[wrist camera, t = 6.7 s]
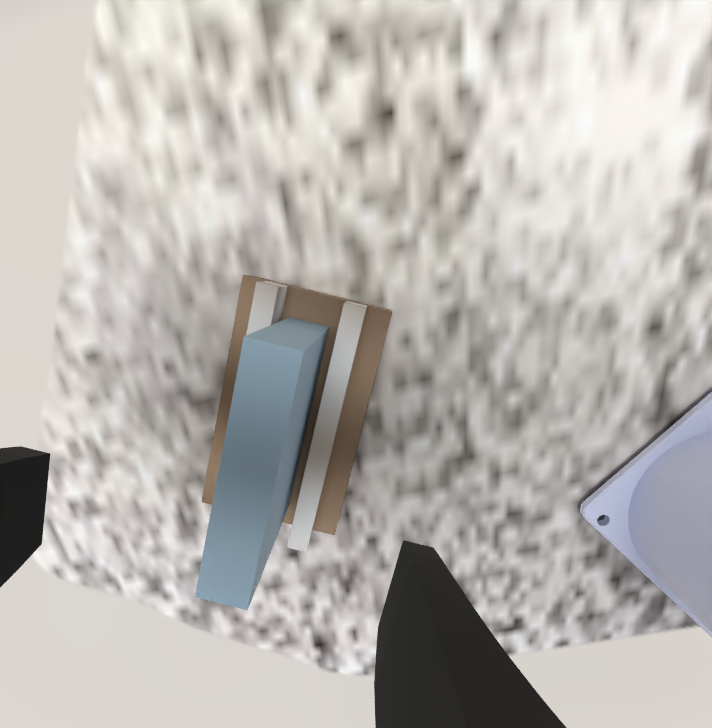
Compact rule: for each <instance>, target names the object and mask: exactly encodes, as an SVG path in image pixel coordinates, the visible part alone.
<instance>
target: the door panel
mask: <svg viewBox="0 0 712 728" xmlns="http://www.w3.org/2000/svg"><path fill="white" fill-rule="evenodd" d="M329 328H330V326H326V325H322V324H318V323H314V322H310V321H306V320H302V319H297V318H293V317H289V318H287V319H284V320H282V321H280V322H277V323H275V324H272V325H270V326H268V327H265V328H263V329H260V330H258V331H256V332H253V333H251V334H248V335H246V336H244V338H243V344H242V349H241V354H240V360H239V365H238V370H237V376H236V381H235V386H234V392H233V397H232V402H231V408H230V413H229V418H228V424H227V429H226V434H225V440H224V445H223V450H222V456H221V461H220V466H219V472H218V477H217V482H216V488H215V493H214V498H213V504H212V509H211V514H210V520H209V525H208V530H207V536H206V541H205V546H204V552H203V557H202V562H201V568H200V573H199V578H198V584H197V589H196V594H195V597H197V598H201V599H205V600H209V601H213V602H217V603H221V604H225V605H229V606H233V607H237V608H241V609H245V610H248V607H249V605H250V602H251V600H252V597H253V595H254V592H255V590H256V587H257V585H258V582H259V580H260V577H261V575H262V572H263V570H264V567H265V565H266V562H267V560H268V557H269V555H270V552H271V550H272V547H273V545H274V542H275V540H276V537H277V535H278V532H279V529H280V527H281V524H282V522H283V519H284V517H285V514H286V512H287V509H288V507H289V504H290V499H291V495H292V491H293V486H294V482H295V477H296V473H297V469H298V464H299V460H300V456H301V451H302V447H303V442H304V438H305V434H306V429H307V425H308V420H309V416H310V412H311V407H312V403H313V399H314V394H315V390H316V385H317V381H318V377H319V372H320V368H321V363H322V359H323V355H324V350H325V346H326V342H327V337H328V333H329Z"/></svg>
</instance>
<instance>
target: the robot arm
mask: <svg viewBox="0 0 712 728" xmlns="http://www.w3.org/2000/svg"><path fill="white" fill-rule="evenodd" d="M49 461H50V454H49V453H45V452H41V451H37V450H33V449H29V448H25V447H10V448H1V449H0V587H1V586H2V585H3V584H4V583H5V582H6V581H7V580H8V579H9V578H10V577H11V576H12V575H13V574H14V573H15V572H16V571H17V570H18V569H19V568H20V567H21V566H22V565H23V564H24V562H25V561H26V560H27V559H28V558H29V557H30V556H31V555H32V554H33V553H34V552H35V550H36V549H37V548H38V547H39V546H40V545H41V544H42V535H43V524H44V514H45V503H46V492H47V482H48V471H49ZM580 513H581V515H582V516H583V517H584V518H585V519H586V521H588V522H589V523H590V524H591V525H592V526H593V527H594V528H595V529H596V530H597V531H598V532H599V533H600V534H602V535H603V536H604V537H605V538H606V539H607V540H608V541H609V542H610V543H611V544H612V545H613V546H614V547H616V548H617V549H618V550H619V551H620V552H621V553H622V554H623V555H624V556H625V557H626V558H627V559H628V560H630V561H631V562H632V563H633V564H634V565H635V566H636V567H637V568H638V569H639V570H640V571H641V572H642V573H644V574H645V575H646V576H647V577H648V578H649V579H650V580H651V581H652V582H653V583H654V584H655V585H656V586H658V587H659V588H660V589H661V590H662V591H663V592H664V593H665V594H666V595H667V596H668V597H669V598H670V599H671V600H673V601H674V602H675V603H676V604H677V605H678V606H679V607H680V608H681V609H682V610H683V611H684V612H685V613H687V614H688V615H689V616H690V617H691V618H692V619H693V620H694V621H695V622H696V623H697V624H698V625H699V626H701V627H702V628H703V629H704V630H705V631H706V632H707V633H708V634H709V635H710V636H711V637H712V392H711V393H710V394H708V395H707V396H706V397H705V398H704V399H703V400H701V401H700V402H699V403H698V404H697V405H696V406H694V407H693V408H692V409H691V410H690V411H689V412H687V413H686V414H685V415H684V416H683V417H682V418H680V419H679V420H678V421H677V422H676V423H675V424H673V425H672V426H671V427H670V428H669V429H668V430H666V431H665V432H664V433H663V434H662V435H661V436H659V437H658V438H657V439H656V440H655V441H654V442H652V443H651V444H650V445H649V446H648V447H647V448H645V449H644V450H643V451H642V452H641V453H640V454H638V455H637V456H636V457H635V458H634V459H633V460H631V461H630V462H629V463H628V464H627V465H626V466H624V467H623V468H622V469H621V470H620V471H619V472H617V473H616V474H615V475H614V476H613V477H612V478H610V479H609V480H608V481H607V482H606V483H605V484H603V485H602V486H601V487H600V488H599V489H598V490H596V491H595V492H594V493H593V494H592V495H591V496H589V497H588V498H587V499H586V500H585V501H584V502H583V503H582V504H581V506H580ZM601 515H605V517H604V519H603V520H601V521H597V519H598V517H599V516H601ZM374 688H375V719H376V720H375V721H376V728H566V727H565V725H563V723H562V722H561V721H560V720H559V719H558V717H557V716H556V715H555V714H554V713H553V711H552V710H551V709H550V708H549V707H548V705H547V704H546V703H545V702H544V701H543V699H542V698H541V697H540V696H539V694H538V693H537V692H536V691H535V689H534V688H533V687H532V686H531V684H530V683H529V682H528V680H527V679H526V678H525V677H524V675H523V674H522V673H521V672H520V670H519V669H518V668H517V667H516V665H515V664H514V663H513V661H512V660H511V659H510V657H509V656H508V655H507V653H506V652H505V651H504V649H503V648H502V647H501V645H500V644H499V643H498V641H497V640H496V639H495V637H494V636H493V634H492V633H491V632H490V630H489V629H488V627H487V626H486V625H485V623H484V622H483V620H482V619H481V618H480V616H479V615H478V613H477V612H476V610H475V609H474V607H473V606H472V604H471V603H470V602H469V600H468V599H467V597H466V596H465V594H464V593H463V591H462V590H461V588H460V587H459V585H458V584H457V582H456V581H455V579H454V578H453V576H452V575H451V573H450V572H449V570H448V568H447V567H446V565H445V564H444V562H443V561H442V559H441V558H440V556H439V555H438V553H437V552H436V551H435V549H434V548H433V547H428V546H424V545H420V544H416V543H412V542H408V541H404V540H403V543H402V546H401V550H400V553H399V557H398V560H397V564H396V567H395V570H394V574H393V577H392V581H391V584H390V588H389V591H388V595H387V598H386V602H385V605H384V609H383V612H382V615H381V619H380V622H379V626H378V636H377V650H376V665H375V682H374Z"/></svg>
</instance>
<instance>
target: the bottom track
mask: <svg viewBox="0 0 712 728" xmlns="http://www.w3.org/2000/svg"><path fill="white" fill-rule="evenodd" d="M391 314H392V311H391V310H388V309H384V308H380V307H376V306H372V305H368V304H364V303H360V302H356V301H352V300H348V299H344V298H340V297H336V296H332V295H327V294H323V293H319V292H315V291H311V290H307V289H303V288H299V287H295V286H291V285H287V284H283V283H279V282H275V281H271V280H267V279H263V278H258V277H254V276H249V275H243V278H242V284H241V289H240V295H239V300H238V306H237V311H236V317H235V322H234V328H233V333H232V339H231V344H230V349H229V355H228V360H227V366H226V371H225V377H224V382H223V388H222V393H221V399H220V404H219V410H218V415H217V421H216V426H215V432H214V437H213V443H212V448H211V454H210V459H209V464H208V470H207V475H206V481H205V486H204V492H203V497H202V502H204V503H208V504H213V498H214V493H215V488H216V482H217V477H218V472H219V466H220V461H221V456H222V450H223V445H224V440H225V434H226V429H227V424H228V418H229V413H230V408H231V402H232V397H233V392H234V386H235V381H236V376H237V370H238V365H239V360H240V354H241V349H242V344H243V338H244V336H246V335H248V334H251V333H253V332H256V331H258V330H260V329H263V328H265V327H268V326H270V325H272V324H275V323H277V322H280V321H282V320H284V319H287V318H289V317H293V318H297V319H302V320H306V321H310V322H314V323H318V324H322V325H326V326H330V328H329V333H328V337H327V342H326V346H325V350H324V355H323V359H322V363H321V368H320V372H319V377H318V381H317V385H316V390H315V394H314V399H313V403H312V407H311V412H310V416H309V420H308V425H307V429H306V434H305V438H304V442H303V447H302V451H301V456H300V460H299V464H298V469H297V473H296V477H295V482H294V486H293V491H292V495H291V499H290V504H289V507H288V509H287V512H286V514H285V517H284V519H283V522H284V523H288V524H292V528H291V532H290V537H289V541H288V545H287V548H291V549H295V550H299V551H303V552H307V548H308V544H309V540H310V537H311V533H312V530H316V531H320V532H324V533H328V534H332V535H335V531H336V528H337V524H338V520H339V516H340V512H341V508H342V504H343V500H344V496H345V493H346V489H347V485H348V481H349V477H350V473H351V469H352V465H353V461H354V458H355V454H356V450H357V446H358V442H359V438H360V434H361V430H362V426H363V423H364V419H365V415H366V411H367V407H368V403H369V399H370V395H371V391H372V388H373V384H374V380H375V376H376V372H377V368H378V364H379V360H380V356H381V353H382V349H383V345H384V341H385V337H386V333H387V329H388V325H389V321H390V318H391Z"/></svg>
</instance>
